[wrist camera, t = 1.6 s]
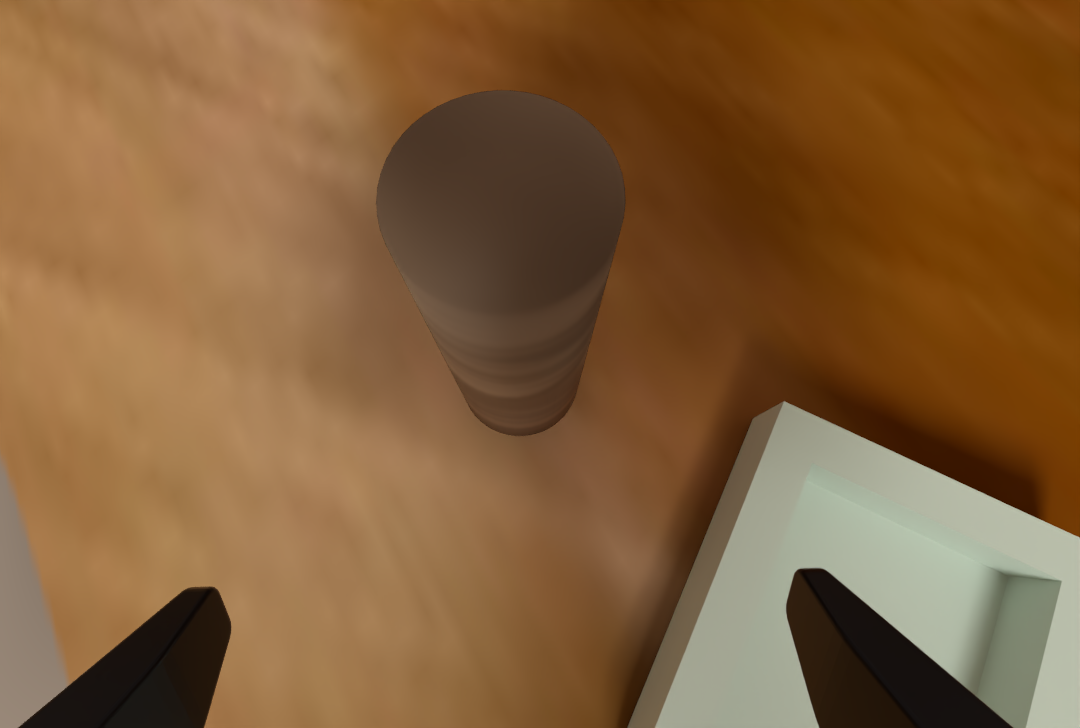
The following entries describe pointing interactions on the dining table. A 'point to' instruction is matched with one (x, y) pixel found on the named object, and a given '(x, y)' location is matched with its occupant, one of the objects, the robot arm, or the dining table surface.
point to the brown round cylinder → (505, 246)
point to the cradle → (865, 583)
